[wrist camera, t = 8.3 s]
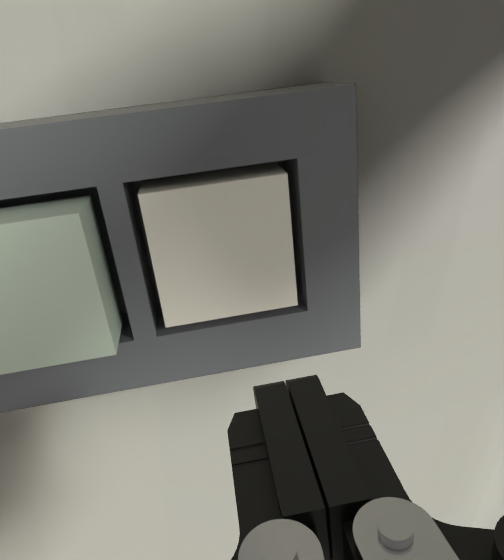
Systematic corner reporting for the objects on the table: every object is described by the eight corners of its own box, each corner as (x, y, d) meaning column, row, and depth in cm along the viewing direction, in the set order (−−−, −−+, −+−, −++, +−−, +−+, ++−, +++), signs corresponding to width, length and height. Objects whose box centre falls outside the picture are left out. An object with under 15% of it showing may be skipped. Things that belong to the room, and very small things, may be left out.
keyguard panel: (325, 82, 22) (355, 84, 19) (335, 310, 27) (360, 347, 24) (-340, 165, 20) (-456, 187, 16) (-196, 402, 25) (-260, 459, 21)
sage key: (90, 194, 20) (78, 213, 17) (122, 322, 22) (116, 354, 20) (-63, 216, 19) (-99, 238, 17) (-13, 345, 22) (-37, 381, 19)
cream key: (273, 161, 22) (287, 173, 19) (284, 280, 24) (297, 305, 22) (141, 180, 21) (137, 194, 19) (166, 300, 24) (165, 327, 21)
